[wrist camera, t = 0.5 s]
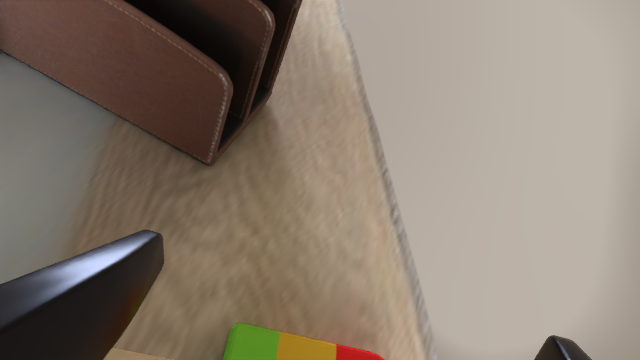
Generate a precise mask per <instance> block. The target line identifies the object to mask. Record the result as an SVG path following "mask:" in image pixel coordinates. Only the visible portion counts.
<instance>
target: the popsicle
mask: <svg viewBox="0 0 640 360" xmlns="http://www.w3.org/2000/svg"><path fill="white" fill-rule="evenodd" d="M104 360H173V359H168V358H163V357H158V356H153V355H148V354H143V353H138V352H132V351H127V350H122V349H117V348H112V349H111V350H110V351H109V353H108V354H107V356H106V357H105V358H104ZM223 360H384V359H383V358H382V357H380V356H379V355H377V354H374V353H371V352H369V351H365V350H360V349H356V348H351V347H347V346H342V345H338V344H333V343H329V342H324V341H320V340H316V339H311V338H307V337H302V336H298V335H293V334H289V333H284V332H280V331H275V330H271V329H266V328H262V327H257V326H253V325H249V324H244V323H236V324H235V325H234V326H233V327H232V328H231V330H230V332H229V335H228V339H227V343H226V348H225V352H224V356H223Z"/></svg>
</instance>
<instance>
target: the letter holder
mask: <svg viewBox="0 0 640 360" xmlns="http://www.w3.org/2000/svg"><path fill="white" fill-rule="evenodd" d="M301 3H302V0H0V50H1V51H3V52H5V53H7V54H8V55H11V56H12V57H14V58H16V59H18V60H20V61H21V62H23V63H25V64H27V65H28V66H30V67H32V68H34V69H36V70H38V71H39V72H41V73H43V74H45V75H47V76H48V77H50V78H52V79H54V80H56V81H58V82H59V83H61V84H62V85H64V86H66V87H68V88H70V89H71V90H73V91H75V92H77V93H78V94H80V95H82V96H84V97H86V98H88V99H90V100H91V101H93V102H95V103H97V104H99V105H100V106H102V107H104V108H105V109H107V110H109V111H111V112H113V113H115V114H117V115H118V116H120V117H122V118H124V119H126V120H128V121H129V122H132V123H133V124H134V125H136V126H138V127H140V128H142V129H144V130H146V131H147V132H149V133H151V134H153V135H154V136H157V137H158V138H160V139H162V140H164V141H166V142H168V143H169V144H171V145H173V146H175V147H177V148H179V149H180V150H182V151H184V152H186V153H188V154H189V155H191V156H193V157H195V158H196V159H198V160H200V161H202V162H204V163H206V164H208V165H210V166H212V165H213V164H214V163H215V162H216V160H217V159H218V158H219V157H220V156H221V155H222V154H223V153H224V151H225V150H226V149H227V147H228V146H229V145H230V144H231V143H232V142H233V141H234V139H235V138H236V137H237V136H238V135H239V134H240V132H241V131H242V130H243V129H244V128H245V127H246V125H247V124H248V123H249V122H250V121H251V120H252V119H253V117H254V116H255V115H256V114H257V113H258V112H259V110H260V109H261V108H262V107H263V106H264V104H265V103H266V102H267V101H268V99H269V97H270V95H271V94H272V88H273V86H274V83H275V80H276V77H277V74H278V72H279V68H280V65H281V62H282V59H283V57H284V54H285V51H286V48H287V45H288V42H289V39H290V36H291V33H292V29H293V26H294V23H295V20H296V17H297V14H298V11H299V9H300V5H301Z"/></svg>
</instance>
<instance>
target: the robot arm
mask: <svg viewBox="0 0 640 360" xmlns="http://www.w3.org/2000/svg"><path fill="white" fill-rule="evenodd" d="M163 264H164V247H163V237H162V235H161V234H160V233H157V232H154V231H150V230H142V231H140V232H137V233H134V234H132V235H129V236H126V237H124V238H121V239H119V240H116V241H113V242H111V243H108V244H105V245H103V246H100V247H98V248H95V249H92V250H90V251H87V252H84V253H82V254H79V255H76V256H74V257H71V258H69V259H66V260H63V261H61V262H58V263H55V264H53V265H50V266H48V267H45V268H42V269H40V270H37V271H34V272H32V273H29V274H26V275H24V276H21V277H19V278H16V279H13V280H11V281H8V282H5V283H3V284H0V360H104V358H105V357H106V356H107V354H108V353H109V351H110V350H111V349H112V347H113V346H114V345H115V343H116V342H117V341H118V339H119V338H120V336H121V335H122V334H123V332H124V331H125V329H126V328H127V327H128V325H129V324H130V322H131V321H132V319H133V317H134V316H135V314H136V312H137V311H138V309H139V307H140V305H141V304H142V302H143V300H144V299H145V297H146V295H147V293H148V292H149V290H150V288H151V287H152V285H153V283H154V281H155V280H156V278H157V276H158V275H159V273H160V271H161V269H162V267H163ZM534 360H592V359H590V357H589V356H587V354H586V353H584V351H583V350H582V349H581V348H579V346H578V345H577V344H576V343H574V342H573V341H572V340H570V339H566V338H563V337H559V336H555V335H553V336H550V337H548V338H547V340H546V341H545V343H544V344H543V346H542V348H541V349H540V351H539V353H538V354H537V356H536V357H535V359H534Z"/></svg>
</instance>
